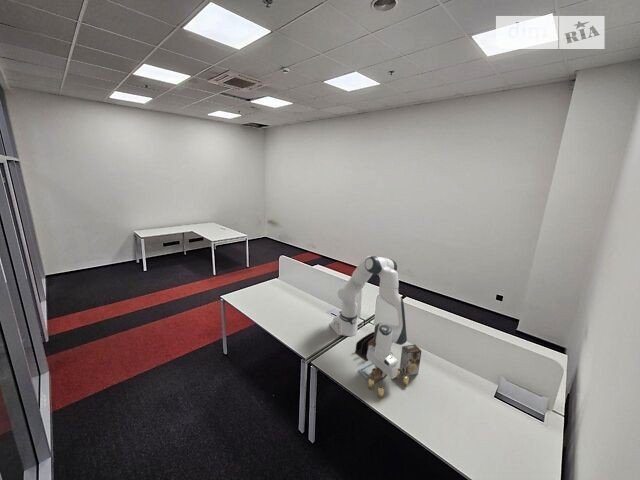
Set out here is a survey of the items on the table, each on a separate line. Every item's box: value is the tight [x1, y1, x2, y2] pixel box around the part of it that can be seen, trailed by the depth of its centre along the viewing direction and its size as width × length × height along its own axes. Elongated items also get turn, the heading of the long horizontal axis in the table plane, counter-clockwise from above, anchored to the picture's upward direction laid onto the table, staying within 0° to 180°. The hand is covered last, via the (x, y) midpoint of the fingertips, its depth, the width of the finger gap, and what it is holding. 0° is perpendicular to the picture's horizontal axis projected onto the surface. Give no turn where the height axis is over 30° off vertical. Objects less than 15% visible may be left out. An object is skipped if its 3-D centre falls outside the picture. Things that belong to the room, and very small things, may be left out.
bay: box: [357, 361, 374, 380], centre depth 158 cm, size 7×14×1 cm, turn 125°
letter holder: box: [355, 331, 376, 361], centre depth 174 cm, size 10×20×14 cm, turn 132°
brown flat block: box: [371, 368, 387, 383], centre depth 152 cm, size 2×10×6 cm, turn 125°
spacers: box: [367, 368, 410, 400], centre depth 148 cm, size 15×21×5 cm
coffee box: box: [399, 344, 422, 376], centre depth 156 cm, size 9×6×16 cm
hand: (379, 374), depth 152 cm, fingers closed on brown flat block, 2 cm apart
